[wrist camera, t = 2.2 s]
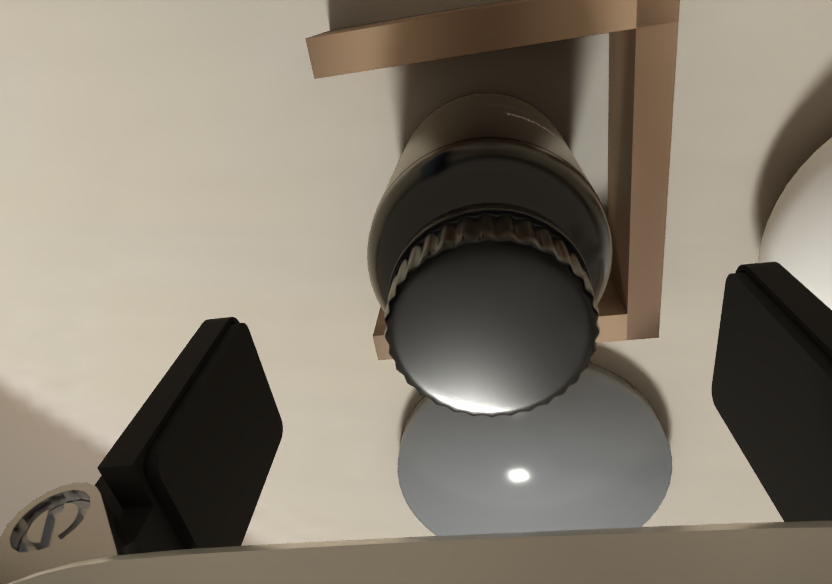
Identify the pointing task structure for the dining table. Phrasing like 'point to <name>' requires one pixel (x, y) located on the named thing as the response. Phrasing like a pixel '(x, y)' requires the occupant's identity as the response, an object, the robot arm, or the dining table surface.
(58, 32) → the dining table surface
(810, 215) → the flower in vase
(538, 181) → the supplement bottle
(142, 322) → the dining table surface
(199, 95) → the dining table surface
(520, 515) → the plate
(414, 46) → the brown wooden arch piece
